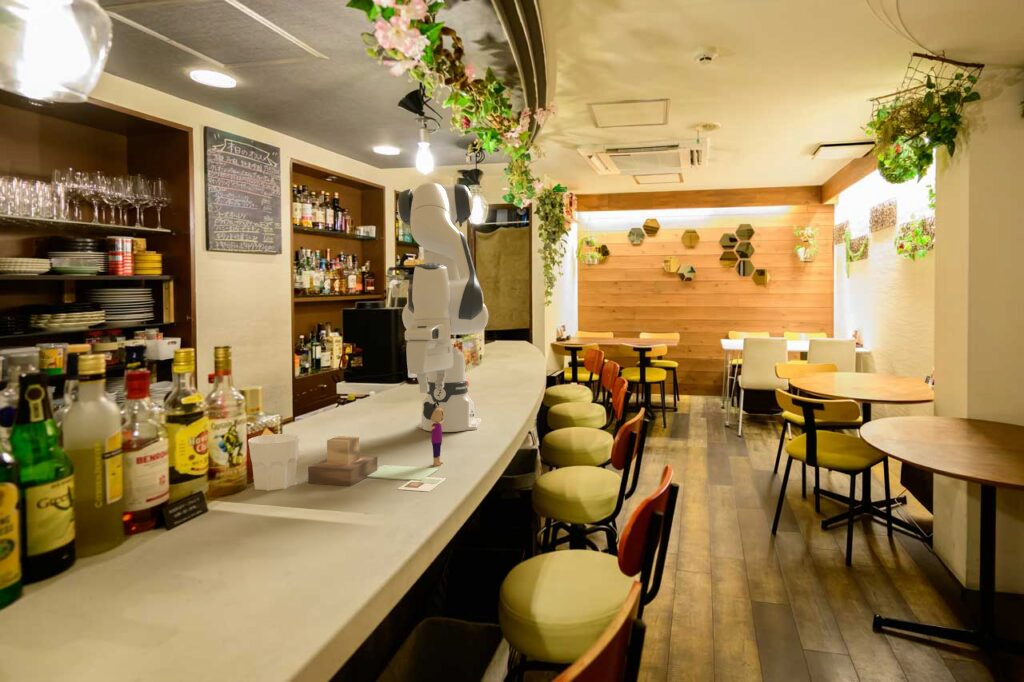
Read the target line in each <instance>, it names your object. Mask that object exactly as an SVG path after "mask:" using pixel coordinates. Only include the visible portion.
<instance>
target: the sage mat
mask: <svg viewBox="0 0 1024 682" xmlns="http://www.w3.org/2000/svg"><path fill="white" fill-rule="evenodd" d="M439 470H440V468H435V467H421V466H406V465H405V466H404V465H388V464H382V465H381V466H379V467H377V471H375V472H374V473H372V474H370V475H368V476H367V478H370V479H371V478H372V479H384V480H397V481H398V480H401V481H410V480H419V481H420V480H423V479H425V478H427V477H431V476H432V475H434V473H436V472H438V471H439Z"/></svg>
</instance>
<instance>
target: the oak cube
mask: <svg viewBox="0 0 1024 682" xmlns="http://www.w3.org/2000/svg"><path fill="white" fill-rule="evenodd" d="M326 452H327V453H326V457H327V458H326V459H327V463H333V464H350V463H352V462H354V461H357V460H359V459H360V458H359V456H360V436H347V435H337V436H335V437H332V438H330V439H327V440H326Z"/></svg>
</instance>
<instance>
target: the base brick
mask: <svg viewBox="0 0 1024 682" xmlns="http://www.w3.org/2000/svg"><path fill="white" fill-rule="evenodd" d="M359 458H360V459H359V460H357V461H354V462H352V463H350V464H333V463H327V458H325V459H323V460H321V461H319V462H317V463H313V464H311V465H309V466H308V467H307V470H308V471H307V474H308V481H307V482H308V484H317V485H332V486H345V487H347V486H348V487H352V486H353V485H356V484H358V483H359V482H361V481H363V480H365V479H366V478H368V477H367V476H368V475H370V474H372V473H374V472H375V471H377V468H378V456H376V455H375V456H374V455H359Z"/></svg>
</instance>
